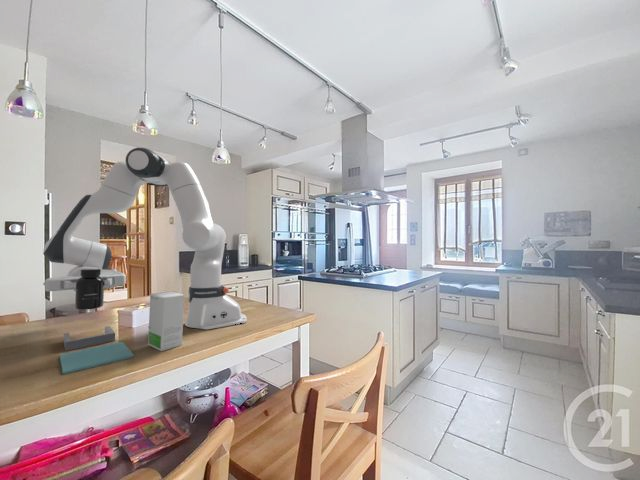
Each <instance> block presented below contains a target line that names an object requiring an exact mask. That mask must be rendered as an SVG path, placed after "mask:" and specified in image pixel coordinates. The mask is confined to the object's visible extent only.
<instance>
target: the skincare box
mask: <svg viewBox="0 0 640 480" xmlns="http://www.w3.org/2000/svg"><path fill="white" fill-rule="evenodd" d="M149 297H150V298H149V315H148V316H149V319H148V320H149V321H148V337H147V339H148V340H147V345H148V346H149V347H151V348H153V349H156V350H157V351H160V352H164V351H168V350H171V349H174V348H177V347H180V346H182V345H183V333H184V332H183V330H184V328H183V327H184V312H185V311H184V309H185V294H182V293H179V292H175V291H171V290H170V291H169V290H168V291H161V292H155V293H150V295H149Z"/></svg>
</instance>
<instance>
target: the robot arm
mask: <svg viewBox="0 0 640 480" xmlns="http://www.w3.org/2000/svg"><path fill="white" fill-rule="evenodd" d="M145 184H147V185H148V186H154V187H168V188H169V191H170V194H171V196H172V198H173V201H174V203H175V206H176V207H177V211H178V213H179V216H180V221H181V226H182V240H183V242H184V244H185V245H186V246H187V247H189V248H191V249H192V250H195V252H194V255H193V259H192V263H191V264H190V274H189V275H190V276H189V277H190V283H189V285H190V286H189V287H188V302H189V304H188V311H187V316H186V320H185V323H184V326H186V327H188V328H193V329H200V330H203V331H204V330H211V329H217V328H224V327H229V326H235V324H236V325H241V324H240V323H242V324H245V323H246V322H247V321H248V319H247V315H245V314H244V313H242V309H241V305H240V304H239V303H238V302H237V301H236V300H234V299H233V298H232V297H231V296H229V295H228V292H229V291H230V289H229V288H228V287H226V286H224V285H222V263H223V258H224V254H225V243H226V241H227V234H226V233H227V232H226V231H225V230H224V228H223V227H222V226H221V225H219V224H217V223H214V221H213V219H212V215H211V211H210V203H209V201H208V198H207V196H206V193H205V192H204V189H203V187H202V185H201V182H200V180H199V178H198V176H197V175H196V173H195V172H194V169H193V168H192V167H191V166H190V164H189V163H186V162H184V161H174V162H172V163H171V162H169V161H168V160H167V159H166V158H165V157H163V156H162V155H160V154H158V153H156V152H155V151H153V150H151V149H149V148H145V147H135V148H132V149H131V150H129V151H128V152H127V154H126V156H125V161H117V162H116V163H114V164H113V165H112V166H111V168H110V169H109V171H108V172H107V173H106V176H105V178H104V179H103V182H102V184H101V186H100V187H99V189H97V191H95V192H94V193H92V194H86V195H84V196H83V197H82V198H81V199H80V200H79V201H78V203H76V205H75V206H74V208H73V209H72V210H71V212H70V213H69V214H68V216H67V217H66V218H65V219H64V221H63V223H61V225H60V227H59V228H58V229H57V231H56V232H55V234H54V235H53V236H51V237H50V238H49V239H48V240H47V241H46V243H45V245H44V248H43V256H44V257H45V258H46V259H47V260H48V261H49V262H50V263H55V264H66V265H67V264H68V265H72V266H74V267H73V268H71V269H70V270H69V272H68V273H67V276H57V277H56V276H54V277H50V278H49V277H48V278H45V280H44V281H43V286H44V291H45V292H58V291H59V292H61V291H71V290H72V291H74V292H76V281H77V280H78V279H79V278H81V275H80V274H81V270H82V269H101V275H100V277H102V278H103V279H104V290H105V289H110V288H111V289H112V288H116V287H117V286H125V285H127V284H126V283H127V275H126V274H125V273H123V272H121V271H118V270H117V269H113V268H109V266H110V264H111V260H112V255H113V254H112V251H111V249H110V247H109V245H107V244H105V243H101V242H98V241H92V240H88V239H83V238H79V237H76V236H73V234H74V233H75V231H77V229H78V227H79V226H80V224H81V223H82V222H83V221H84V220H85V218H87V217H88V216H90V215H93V214H118V213H123V212H126V211H128V210H129V209H130V208H132V205H134V202H135V201H136V198H137V195H138V193H139V190H140V188H141V187H142V186H143V185H145Z"/></svg>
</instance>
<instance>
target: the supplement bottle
mask: <svg viewBox="0 0 640 480" xmlns="http://www.w3.org/2000/svg"><path fill="white" fill-rule="evenodd" d="M80 275H81V278H79V279H78V280H77V281H76V291H75V295H74V296H75V303H74V308H75V309H76V310H78V311H79V310H82V311H83V310H93V309H98V308H102V307H103V306H104V298H105V294H104V293H105V289H104V279H103V278H102V277H100V275H101V269H82V270H81V274H80Z"/></svg>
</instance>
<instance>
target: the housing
mask: <svg viewBox="0 0 640 480" xmlns="http://www.w3.org/2000/svg"><path fill="white" fill-rule="evenodd" d="M62 338H63V339H62V340H63V341H62V343H63V346H64V350H65V352H67V351H71V350H72V351H73V350H76V349H82V348H85V347H92V346H96V345H102V344H103V345H104V344H107V343H111V342H112V343H113V342H115V341H116V332H115V331H114V330H113V328H112V327H111V326H110V325H107V326H104V333H102V334H96V335H91V336H85V337H79V338H76V339H71V336H70V333H69V332H66V333H65V332H64V333H63V336H62Z"/></svg>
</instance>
